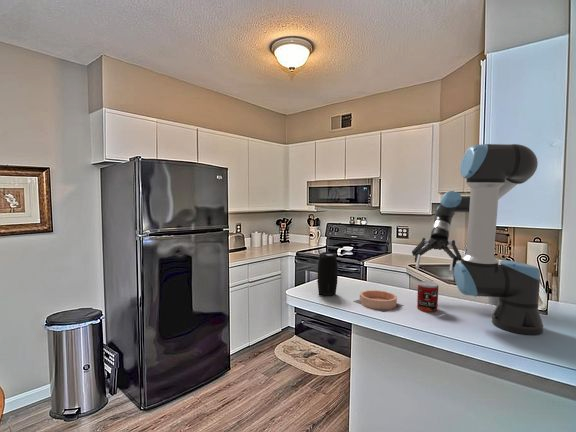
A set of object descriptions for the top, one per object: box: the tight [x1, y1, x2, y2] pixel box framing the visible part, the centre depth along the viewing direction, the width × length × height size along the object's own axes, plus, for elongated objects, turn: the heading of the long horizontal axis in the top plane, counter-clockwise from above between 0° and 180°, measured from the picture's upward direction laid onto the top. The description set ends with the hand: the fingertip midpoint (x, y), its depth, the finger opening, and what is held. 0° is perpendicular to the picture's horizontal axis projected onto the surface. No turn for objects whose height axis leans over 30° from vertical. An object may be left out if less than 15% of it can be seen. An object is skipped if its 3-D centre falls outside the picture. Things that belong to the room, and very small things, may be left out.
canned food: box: [416, 280, 439, 313], centre depth 133 cm, size 8×8×11 cm
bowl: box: [359, 289, 398, 310], centre depth 140 cm, size 15×15×4 cm
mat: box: [352, 299, 404, 313], centre depth 140 cm, size 16×14×1 cm
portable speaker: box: [316, 251, 339, 298], centre depth 151 cm, size 9×9×20 cm
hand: (433, 270), depth 142 cm, fingers open, 13 cm apart
